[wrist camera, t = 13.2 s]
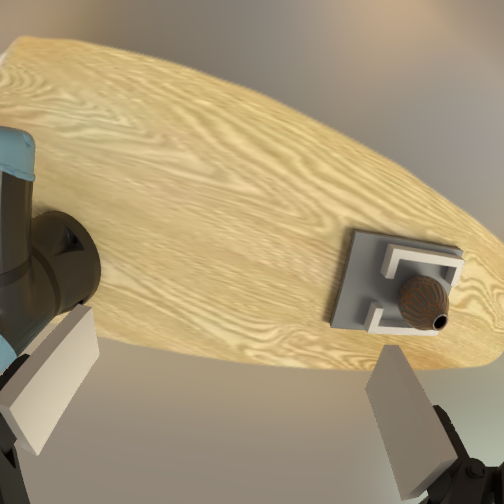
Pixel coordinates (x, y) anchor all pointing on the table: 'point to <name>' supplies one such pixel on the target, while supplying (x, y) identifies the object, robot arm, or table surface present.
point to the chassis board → (388, 280)
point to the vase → (424, 303)
